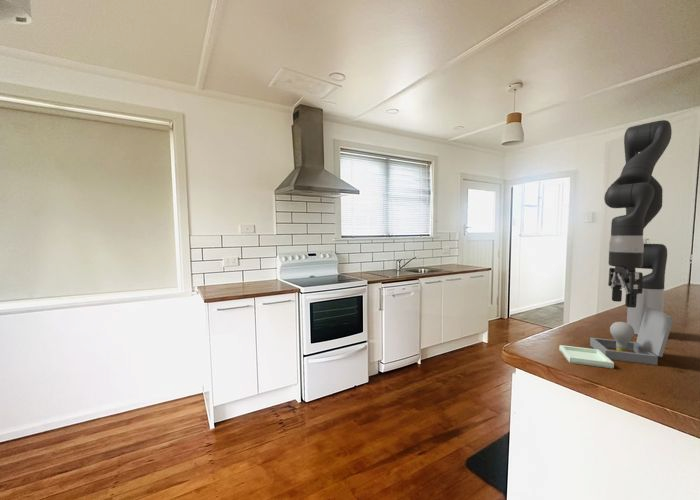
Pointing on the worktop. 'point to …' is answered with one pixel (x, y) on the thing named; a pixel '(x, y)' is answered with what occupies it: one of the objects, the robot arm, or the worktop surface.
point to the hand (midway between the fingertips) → (623, 304)
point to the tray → (586, 356)
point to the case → (638, 357)
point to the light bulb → (621, 334)
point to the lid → (654, 331)
